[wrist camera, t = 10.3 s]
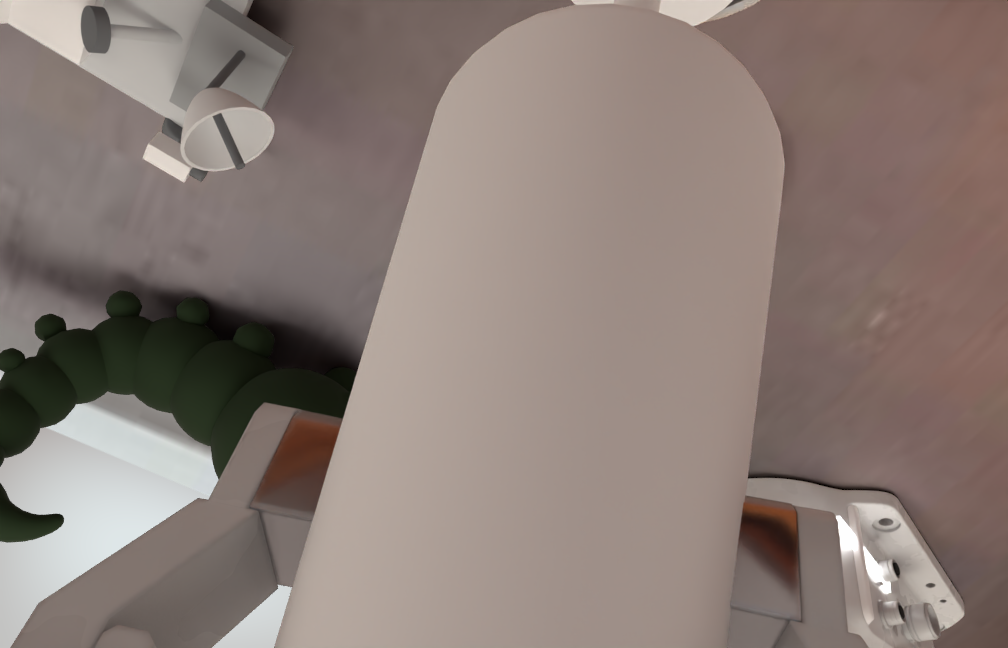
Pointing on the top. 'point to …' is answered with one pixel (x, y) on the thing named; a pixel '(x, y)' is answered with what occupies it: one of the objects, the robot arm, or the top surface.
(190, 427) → the toy figurine
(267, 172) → the top surface
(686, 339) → the champagne flute
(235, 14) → the toy car
